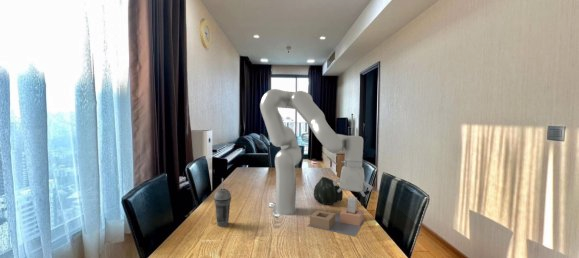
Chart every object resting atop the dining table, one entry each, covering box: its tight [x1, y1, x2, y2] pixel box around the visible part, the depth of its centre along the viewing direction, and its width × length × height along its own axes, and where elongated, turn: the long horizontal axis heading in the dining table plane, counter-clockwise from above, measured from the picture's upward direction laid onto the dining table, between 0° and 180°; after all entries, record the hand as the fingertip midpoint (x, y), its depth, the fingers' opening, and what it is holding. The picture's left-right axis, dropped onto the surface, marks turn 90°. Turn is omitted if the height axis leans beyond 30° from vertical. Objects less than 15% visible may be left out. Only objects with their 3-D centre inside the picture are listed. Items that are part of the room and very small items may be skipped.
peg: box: [347, 196, 358, 214], centre depth 119 cm, size 3×3×10 cm
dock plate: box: [307, 206, 366, 237], centre depth 117 cm, size 20×20×6 cm
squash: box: [313, 176, 340, 206], centre depth 147 cm, size 14×15×15 cm
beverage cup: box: [213, 177, 232, 228], centre depth 116 cm, size 7×7×20 cm
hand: (351, 202), depth 119 cm, fingers open, 9 cm apart
